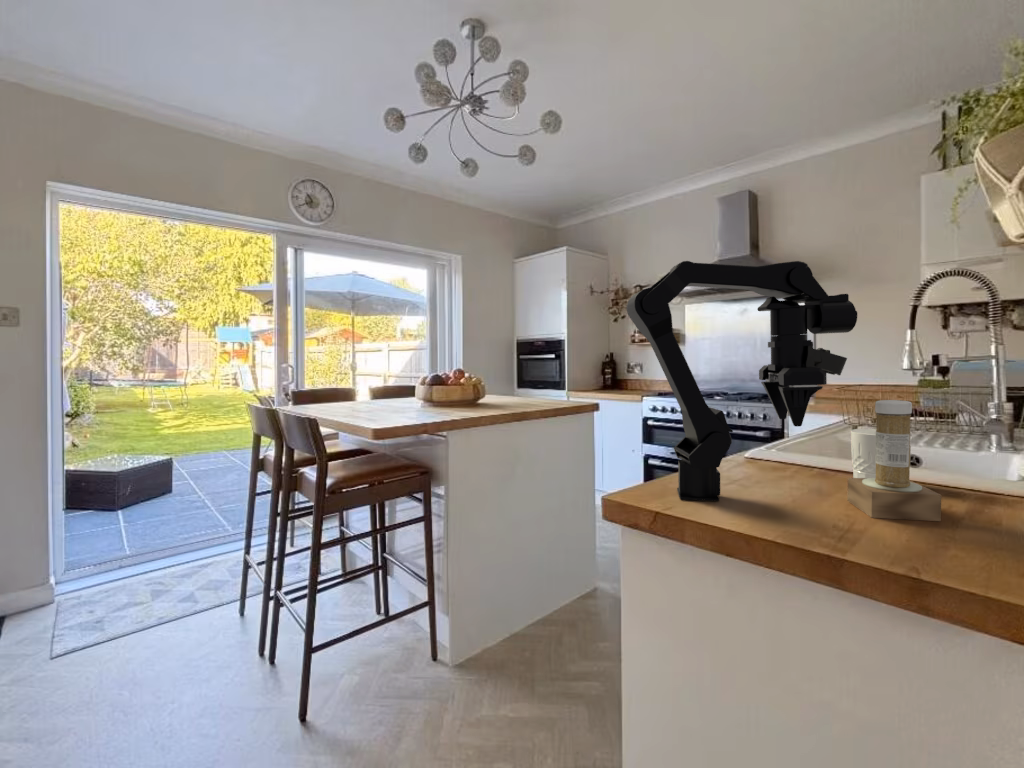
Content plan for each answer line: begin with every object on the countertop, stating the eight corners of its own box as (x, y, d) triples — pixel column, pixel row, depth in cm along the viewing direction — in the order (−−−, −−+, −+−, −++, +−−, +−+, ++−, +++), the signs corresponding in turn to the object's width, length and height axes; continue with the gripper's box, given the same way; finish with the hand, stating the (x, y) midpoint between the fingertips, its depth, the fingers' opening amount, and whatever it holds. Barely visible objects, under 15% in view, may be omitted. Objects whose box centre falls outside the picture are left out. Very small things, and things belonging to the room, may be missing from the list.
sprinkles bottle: (909, 483, 78) (911, 400, 77) (910, 490, 75) (912, 402, 74) (874, 479, 81) (875, 399, 80) (873, 485, 77) (874, 401, 77)
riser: (871, 517, 75) (871, 490, 75) (847, 500, 84) (847, 475, 84) (940, 521, 73) (941, 492, 73) (908, 503, 82) (909, 478, 82)
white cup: (850, 476, 100) (850, 427, 100) (899, 481, 96) (900, 430, 95) (849, 484, 94) (850, 433, 93) (901, 490, 89) (902, 436, 89)
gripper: (863, 330, 76) (864, 430, 77) (821, 334, 94) (822, 415, 95) (784, 334, 79) (785, 430, 80) (757, 337, 97) (759, 416, 98)
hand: (789, 422), depth 88 cm, fingers open, 9 cm apart
